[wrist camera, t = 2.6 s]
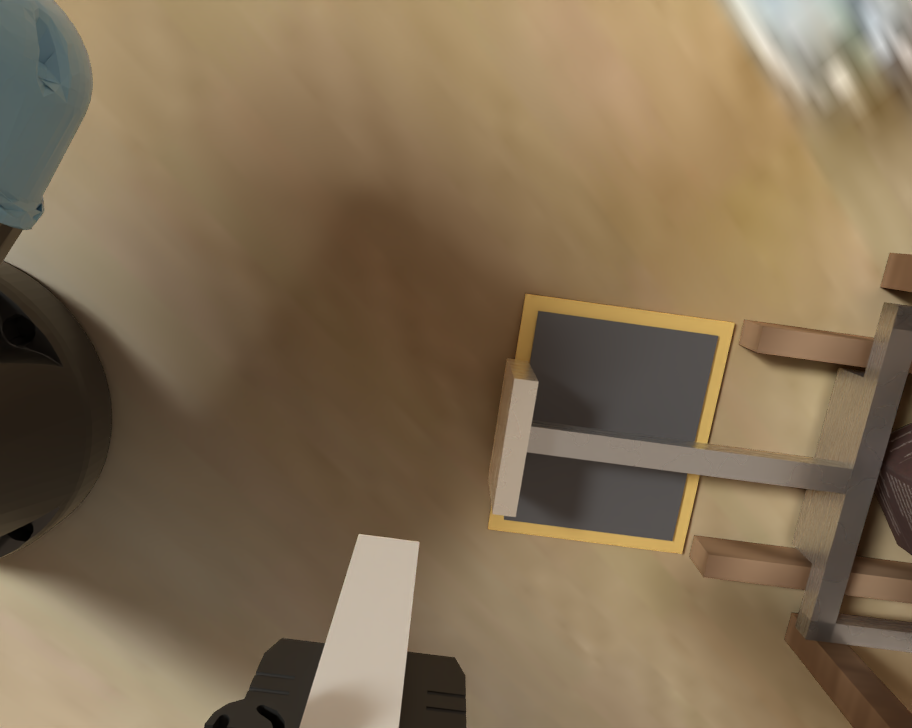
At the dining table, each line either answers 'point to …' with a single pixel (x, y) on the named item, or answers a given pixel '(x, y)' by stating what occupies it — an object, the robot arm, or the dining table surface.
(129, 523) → the dining table surface
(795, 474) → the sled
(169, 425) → the dining table surface
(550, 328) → the mat
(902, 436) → the box
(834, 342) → the tunnel
